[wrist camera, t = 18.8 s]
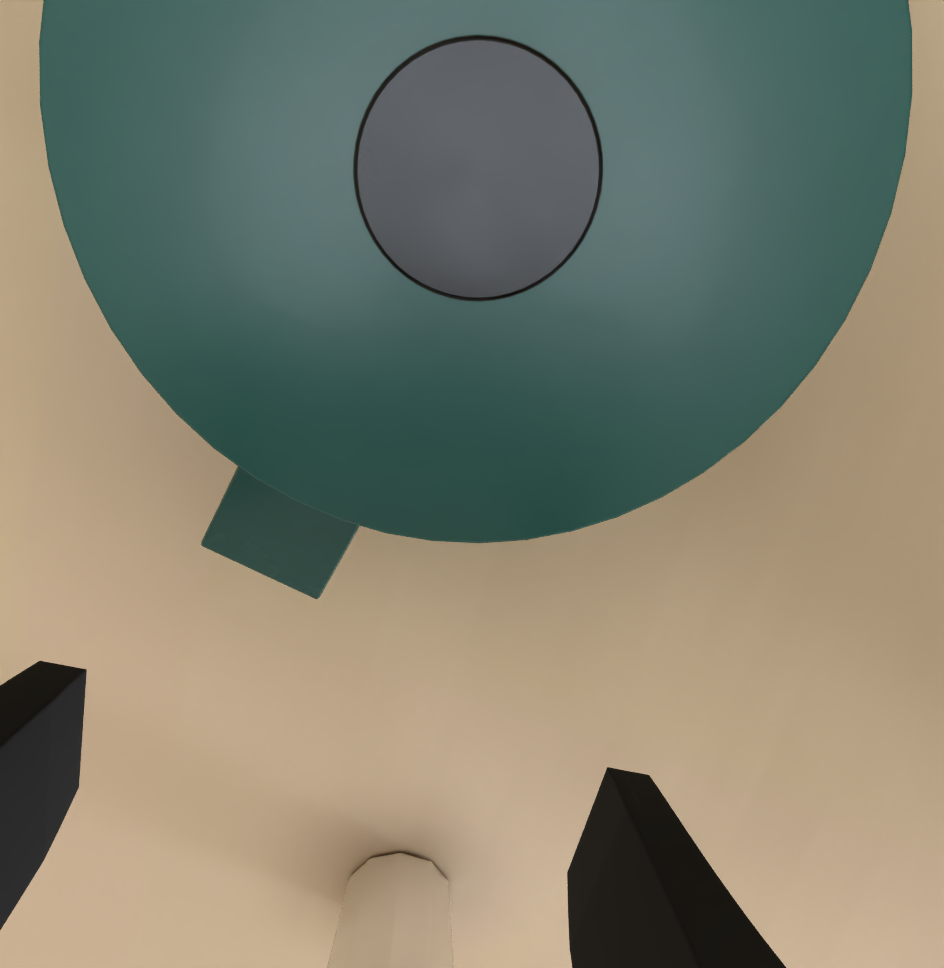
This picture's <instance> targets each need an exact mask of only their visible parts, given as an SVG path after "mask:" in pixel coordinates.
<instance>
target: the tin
mask: <svg viewBox="0 0 944 968" xmlns="http://www.w3.org/2000/svg"><path fill="white" fill-rule="evenodd" d="M359 526H360V525H356V524H353V523H349V522H346V521H343V520H340V519H337V518H335V517H333V516H330V515H328V514H325V513H323V512H321V511H318V510H316V509H314V508H311V507H309V506H306V505H304V504H302V503H299V502H297V501H295V500H293V499H292V498H290V497H288V496H286V495H284V494H283V493H281V492H279V491H277V490H276V489H274V488H272V487H270V486H268V485H267V484H265V483H263V482H261V481H260V480H258V479H256V478H254V477H253V476H251V475H250V474H249V473H247V472H246V471H245V470H243V469H242V468H240V467H239V466H238V468H237V470H236V472H235V474H234V476H233V478H232V480H231V482H230V484H229V486H228V488H227V490H226V492H225V494H224V496H223V498H222V501H221V503H220V505H219V507H218V509H217V511H216V513H215V515H214V517H213V519H212V521H211V523H210V525H209V527H208V529H207V531H206V533H205V536H204V538H203V540H202V542H201V545H202V546H203V547H205V548H208V549H210V550H212V551H214V552H216V553H218V554H220V555H223V556H225V557H227V558H229V559H231V560H233V561H236V562H238V563H240V564H242V565H244V566H246V567H248V568H251V569H253V570H255V571H257V572H259V573H261V574H263V575H266V576H268V577H270V578H272V579H274V580H276V581H278V582H281V583H283V584H285V585H287V586H289V587H291V588H294V589H296V590H298V591H300V592H302V593H304V594H306V595H309V596H311V597H313V598H315V599H318V598H319V597H320V595H321V594H322V592H323V590H324V588H325V587H326V585H327V583H328V581H329V579H330V578H331V576H332V574H333V572H334V571H335V569H336V567H337V565H338V563H339V562H340V560H341V558H342V556H343V555H344V553H345V551H346V549H347V548H348V546H349V544H350V542H351V540H352V539H353V537H354V535H355V533H356V532H357V530H358V528H359Z"/></svg>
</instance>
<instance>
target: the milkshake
mask: <svg viewBox="0 0 944 968" xmlns="http://www.w3.org/2000/svg"><path fill="white" fill-rule="evenodd" d="M327 968H454V960H453V941H452V922H451V904H450V887H449V882H448V881H447V879H446V878H445V877H444V876H443V875H442V874H441V872H440V871H439V870H438V869H437V868H436V867H435V865H434V864H433V863H432V862H431V861H427V860H424V859H421V858H417V857H414V856H411V855H407V854H404V853H396V854H391V855H385V856H380V857H374V858H370V859H369V860H368V861H367V862H366V863H364V864H363V865H362V866H361V867H360V868H359V869H358V870H357V871H356V872H355V873H354V874H353V875H352V876H351V877H350V878H349V882H348V885H347V889H346V893H345V897H344V901H343V905H342V909H341V913H340V917H339V921H338V925H337V929H336V933H335V937H334V941H333V945H332V949H331V953H330V957H329V961H328V965H327Z"/></svg>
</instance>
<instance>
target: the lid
mask: <svg viewBox="0 0 944 968" xmlns="http://www.w3.org/2000/svg"><path fill="white" fill-rule="evenodd" d="M39 55H40V107H41V115H42V122H43V129H44V137H45V144H46V151H47V159H48V166H49V170H50V174H51V178H52V182H53V186H54V189H55V193H56V197H57V201H58V205H59V209H60V213H61V217H62V220H63V224H64V227H65V230H66V232H67V235H68V237H69V240H70V242H71V245H72V248H73V250H74V253H75V255H76V258H77V261H78V263H79V266H80V268H81V271H82V273H83V276H84V279H85V281H86V282H87V284H88V286H89V288H90V290H91V292H92V294H93V296H94V298H95V300H96V301H97V303H98V305H99V307H100V309H101V311H102V313H103V315H104V317H105V319H106V320H107V322H108V324H109V326H110V328H111V330H112V331H113V333H114V334H115V336H116V337H117V338H118V340H119V341H120V343H121V344H122V346H123V347H124V349H125V350H126V352H127V353H128V355H129V356H130V357H131V359H132V360H133V362H134V363H135V365H136V366H137V368H138V369H139V371H140V372H141V374H142V375H143V376H144V377H145V378H146V379H147V381H148V382H149V383H150V384H151V385H152V386H153V387H154V389H155V390H156V391H157V392H158V393H159V394H160V396H161V397H162V398H163V399H164V400H165V401H166V402H167V404H168V405H169V406H170V407H171V408H172V409H173V411H174V412H175V413H176V414H177V415H178V416H179V417H180V418H182V419H183V420H184V421H185V422H186V423H187V424H188V425H189V426H190V427H191V428H192V429H194V430H195V431H196V432H197V433H198V434H199V435H200V436H201V437H202V438H203V439H204V440H205V441H207V442H208V443H209V444H210V445H211V446H212V447H213V448H214V449H216V450H217V451H218V452H220V453H221V454H223V455H224V456H225V457H227V458H228V459H229V460H231V461H232V462H234V463H235V464H236V465H238V466H239V467H240V468H242V469H243V470H245V471H246V472H247V473H249V474H250V475H251V476H253V477H254V478H256V479H258V480H260V481H261V482H263V483H265V484H267V485H268V486H270V487H272V488H274V489H276V490H277V491H279V492H281V493H283V494H284V495H286V496H288V497H290V498H292V499H293V500H295V501H297V502H299V503H302V504H304V505H306V506H309V507H311V508H314V509H316V510H318V511H321V512H323V513H325V514H328V515H330V516H333V517H335V518H337V519H340V520H343V521H346V522H349V523H353V524H356V525H360V526H363V527H367V528H370V529H374V530H377V531H381V532H384V533H388V534H394V535H400V536H407V537H413V538H419V539H425V540H431V541H446V542H468V543H488V542H502V541H516V540H528V539H533V538H538V537H544V536H549V535H554V534H560V533H565V532H570V531H574V530H578V529H581V528H584V527H587V526H590V525H594V524H597V523H600V522H603V521H606V520H610V519H613V518H616V517H619V516H621V515H623V514H625V513H628V512H630V511H632V510H634V509H637V508H639V507H641V506H643V505H646V504H648V503H650V502H652V501H655V500H657V499H659V498H661V497H663V496H665V495H667V494H668V493H670V492H672V491H673V490H675V489H677V488H678V487H680V486H682V485H683V484H685V483H687V482H689V481H690V480H692V479H694V478H695V477H697V476H699V475H700V474H702V473H704V472H705V471H706V470H708V469H709V468H710V467H712V466H713V465H714V464H716V463H717V462H718V461H720V460H721V459H722V458H724V457H725V456H726V455H728V454H729V453H730V452H731V451H733V450H734V449H735V448H737V447H738V446H739V445H741V444H742V443H743V442H745V441H746V440H747V439H748V438H749V437H750V436H751V435H752V434H753V433H754V432H755V431H756V430H757V429H758V428H759V427H760V426H761V425H762V424H763V423H764V422H765V421H767V420H768V419H769V418H770V417H771V416H772V415H773V414H774V413H775V412H776V411H777V410H778V409H779V408H780V407H781V406H782V405H783V404H784V403H785V401H786V400H787V399H788V398H789V397H790V395H791V394H792V393H793V392H794V391H795V389H796V388H797V387H798V386H799V385H800V383H801V382H802V381H803V380H804V379H805V377H806V376H807V375H808V374H809V372H810V371H811V370H812V369H813V368H814V366H815V365H816V364H817V362H818V361H819V359H820V358H821V356H822V355H823V353H824V352H825V350H826V348H827V347H828V345H829V344H830V342H831V341H832V339H833V338H834V336H835V335H836V333H837V332H838V330H839V329H840V327H841V326H842V324H843V322H844V321H845V319H846V317H847V315H848V313H849V311H850V309H851V307H852V305H853V303H854V302H855V300H856V298H857V296H858V294H859V292H860V290H861V288H862V286H863V284H864V282H865V280H866V278H867V276H868V274H869V272H870V270H871V267H872V264H873V262H874V259H875V256H876V254H877V251H878V248H879V245H880V243H881V240H882V237H883V234H884V232H885V229H886V226H887V223H888V221H889V218H890V215H891V212H892V208H893V203H894V199H895V195H896V191H897V187H898V182H899V178H900V174H901V170H902V166H903V161H904V157H905V151H906V142H907V133H908V125H909V116H910V108H911V99H912V27H911V19H910V11H909V4H908V0H44V3H43V12H42V22H41V31H40V40H39Z"/></svg>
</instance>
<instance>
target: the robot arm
mask: <svg viewBox="0 0 944 968" xmlns="http://www.w3.org/2000/svg"><path fill="white" fill-rule="evenodd" d="M85 685H86V669H81V668H75V667H70V666H65V665H59V664H54V663H49V662H43V661H39V662H37V663H35V664H34V665H32V666H31V667H29V668H27V669H26V670H24V671H22V672H21V673H19V674H18V675H16V676H14V677H13V678H11V679H10V680H8V681H7V682H5V683H4V684H2V685H0V930H1V928H2V927H3V925H4V923H5V922H6V920H7V919H8V917H9V915H10V914H11V912H12V911H13V909H14V907H15V906H16V904H17V903H18V901H19V899H20V898H21V896H22V895H23V893H24V891H25V890H26V888H27V887H28V885H29V883H30V882H31V880H32V879H33V877H34V875H35V874H36V872H37V870H38V869H39V867H40V866H41V864H42V862H43V861H44V859H45V857H46V855H47V853H48V851H49V849H50V847H51V845H52V843H53V840H54V838H55V836H56V834H57V832H58V830H59V828H60V826H61V824H62V822H63V820H64V818H65V816H66V813H67V811H68V809H69V807H70V805H71V803H72V801H73V798H74V796H75V794H76V792H77V790H78V788H79V776H80V761H81V746H82V731H83V715H84V700H85ZM567 877H568V918H569V941H570V953H571V960H572V967H573V968H786V967H785V966H784V964H783V963H782V962H781V960H780V959H779V958H778V957H777V955H776V954H775V953H774V952H773V950H772V949H771V948H770V947H769V945H768V944H767V943H766V941H765V940H764V939H763V938H762V936H761V935H760V934H759V932H758V931H757V930H756V928H755V927H754V926H753V924H752V923H751V922H750V920H749V919H748V918H747V916H746V915H745V914H744V912H743V911H742V910H741V908H740V907H739V905H738V904H737V903H736V901H735V900H734V899H733V897H732V896H731V894H730V893H729V892H728V890H727V889H726V887H725V886H724V885H723V883H722V882H721V880H720V879H719V878H718V876H717V875H716V873H715V872H714V870H713V869H712V867H711V866H710V865H709V863H708V862H707V860H706V859H705V857H704V856H703V854H702V853H701V851H700V850H699V848H698V847H697V846H696V844H695V843H694V841H693V840H692V838H691V837H690V835H689V834H688V832H687V831H686V829H685V828H684V826H683V825H682V823H681V822H680V820H679V819H678V817H677V816H676V814H675V813H674V811H673V810H672V808H671V807H670V805H669V804H668V802H667V801H666V799H665V798H664V796H663V795H662V793H661V792H660V790H659V789H658V787H657V786H656V784H655V783H654V782H653V780H652V779H651V777H650V776H649V775H645V774H640V773H635V772H629V771H624V770H619V769H613V768H608V767H607V770H606V773H605V775H604V778H603V780H602V783H601V786H600V788H599V791H598V794H597V796H596V799H595V801H594V804H593V807H592V809H591V812H590V815H589V817H588V820H587V822H586V825H585V828H584V830H583V833H582V836H581V838H580V841H579V843H578V846H577V849H576V851H575V854H574V857H573V859H572V862H571V865H570V867H569V870H568V872H567Z"/></svg>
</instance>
